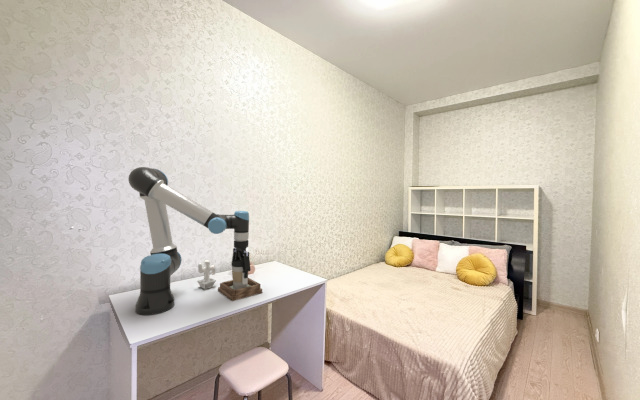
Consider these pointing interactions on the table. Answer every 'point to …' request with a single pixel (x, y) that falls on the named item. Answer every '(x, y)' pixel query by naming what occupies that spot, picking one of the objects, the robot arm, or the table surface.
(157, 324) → the table surface
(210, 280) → the figurine
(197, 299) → the table surface
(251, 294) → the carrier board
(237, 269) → the coffee cup
